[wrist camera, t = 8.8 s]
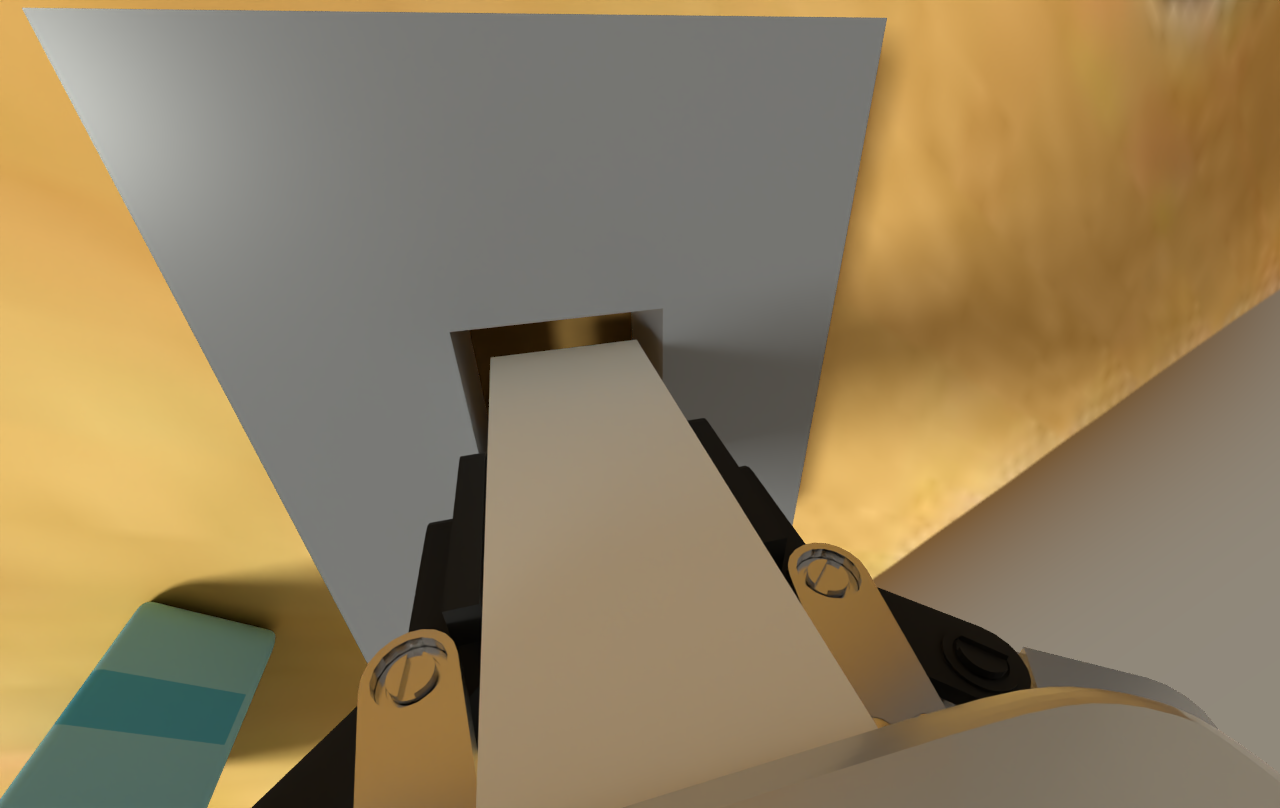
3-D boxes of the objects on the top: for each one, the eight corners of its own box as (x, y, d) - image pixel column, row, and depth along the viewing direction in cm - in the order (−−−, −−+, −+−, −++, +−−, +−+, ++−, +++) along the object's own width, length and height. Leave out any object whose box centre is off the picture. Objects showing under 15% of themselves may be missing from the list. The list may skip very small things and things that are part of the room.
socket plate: (162, 39, 11) (22, 8, 8) (796, 39, 14) (886, 18, 11) (388, 573, 21) (367, 663, 17) (743, 502, 24) (784, 566, 20)
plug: (490, 357, 13) (464, 1155, 3) (636, 339, 14) (1001, 926, 4) (514, 475, 15) (544, 1188, 5) (640, 454, 16) (884, 1034, 6)
